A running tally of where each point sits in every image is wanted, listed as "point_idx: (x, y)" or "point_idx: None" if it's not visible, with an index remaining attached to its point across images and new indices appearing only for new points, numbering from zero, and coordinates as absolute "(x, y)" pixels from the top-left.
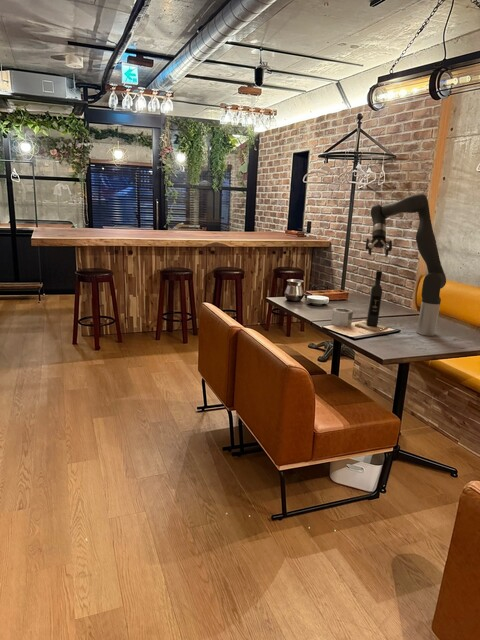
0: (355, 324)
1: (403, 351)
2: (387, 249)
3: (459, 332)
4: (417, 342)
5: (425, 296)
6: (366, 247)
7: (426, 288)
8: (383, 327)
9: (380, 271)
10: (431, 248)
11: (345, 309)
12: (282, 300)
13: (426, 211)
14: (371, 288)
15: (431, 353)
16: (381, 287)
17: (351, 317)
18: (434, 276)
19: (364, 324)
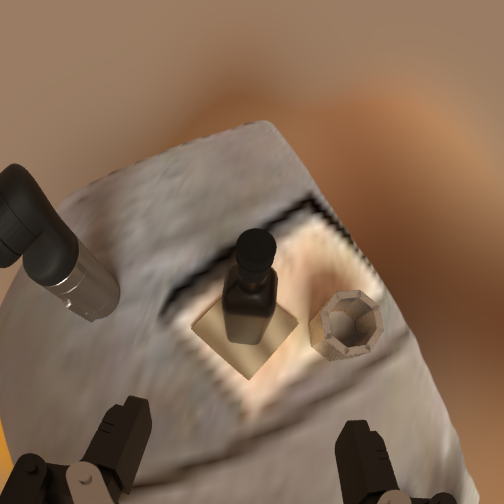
0: (297, 322)
1: (218, 152)
2: (92, 468)
3: (14, 327)
4: (158, 212)
5: (69, 230)
6: (430, 502)
7: (55, 213)
8: (210, 312)
9: (248, 245)
10: None
11: (343, 345)
12: None
13: None
14: (276, 296)
15: (164, 155)
16: (231, 269)
17: (318, 313)
18: (22, 167)
19: (267, 331)
